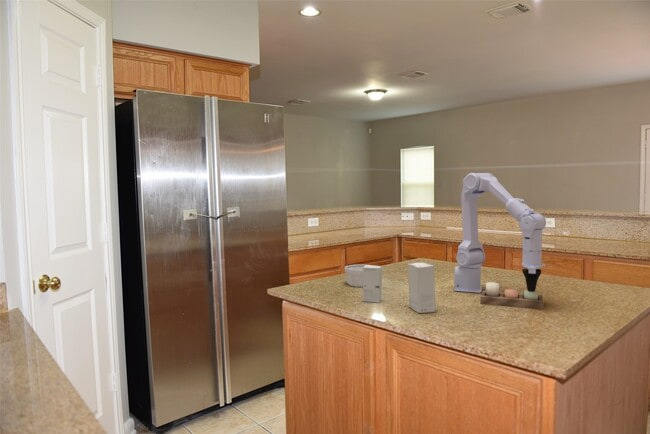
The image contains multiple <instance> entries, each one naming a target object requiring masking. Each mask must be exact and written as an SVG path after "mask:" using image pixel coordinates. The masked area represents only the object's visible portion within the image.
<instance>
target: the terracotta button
mask: <svg viewBox="0 0 650 434" xmlns="http://www.w3.org/2000/svg"><path fill="white" fill-rule="evenodd" d="M504 292H505V297H507V298H518V293H519V290H518V289H514V288H513V289H512V288H507V289H504Z"/></svg>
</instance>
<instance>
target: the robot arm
mask: <svg viewBox="0 0 650 434" xmlns="http://www.w3.org/2000/svg"><path fill="white" fill-rule="evenodd" d="M486 192H489V193H491V194H492V195H493V196H494V197H496V198H497V199H498V200H499V201H500V202H502V203H503V204H504V205H505V210H506V212H508V213H509V215H511V216H512V218H514V219H515V220H516V221H517V222H518V227H519V228H520V230H521V234H522V262H521V266H522V267H524V268H522V274H523V276H524V279H525V283H526V290H528V291H529V292H535V290H536V289H537V284H538V280H539V278H540V276H541V275H542V269H541V268H545V267H546V263H542V257H543V256H542V255H543V253H542V251H543V249H542V248H543V246H542V245H543V229H545V227H546V225H547V219H546V217H545V216H544V215H543V214H542V213H540V212H535V209H533V208H531V207H530V206H528V205H527V204H526V203H525V200H524V199H523V198H519V197H513V196H512V194H510V192H508V190H507V189H506V188H504V186H503V185H502V184H501V183H500V182H499V181H498V178H497V177H495V176H494V175H493V174H492V173H491V172H482V173H481V172H478V173H477V172H476V173H475V172H470V173H468V174H466V176H465V177H464V178H463V179H462V191H461V195H460V196H461V220H462V221H461V223H462V224H461V225H462V242H460V243H459V245H458V247H457V254H456V256H455V257H456V258H455V259H456V262H457V264H458V265H456V266H454V283H453V284H454V285H453V286H454V289H453V291H454V292H465V293H478V294H482V291H483V287H482V285H481V283H482V281H481V280H482V277H481V276H482V275H481V274H482V271H481V270H482V267H483V264H484V262H485V261H486V254H485V250H484V245H483V244H482V243H481V242H480V241H479V223H478V222H479V219H478V198H480V197H481V195H483V194H484V193H486Z"/></svg>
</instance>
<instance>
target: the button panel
mask: <svg viewBox="0 0 650 434" xmlns="http://www.w3.org/2000/svg"><path fill="white" fill-rule="evenodd" d="M479 300H480V302H479V303H480V305H488V306H489V305H490V306H500V307H501V306H502V307H511V308H512V307H514V308H521V309H523V308H524V309H525V308H526V309H535V310H544V299H543V295H542V294H538V300H532V299H524V293H519V292H518V298H507V297H505V291H499V296H497V297H495V296H487V295H486V290H482V291H481V293H480V298H479Z"/></svg>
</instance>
